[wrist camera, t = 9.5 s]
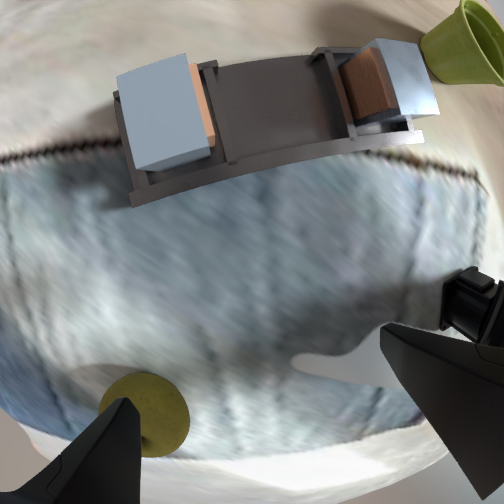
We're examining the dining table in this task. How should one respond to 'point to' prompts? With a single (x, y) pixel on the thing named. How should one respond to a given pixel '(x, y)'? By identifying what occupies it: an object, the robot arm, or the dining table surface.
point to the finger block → (166, 114)
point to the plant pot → (466, 47)
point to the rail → (297, 112)
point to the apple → (153, 411)
